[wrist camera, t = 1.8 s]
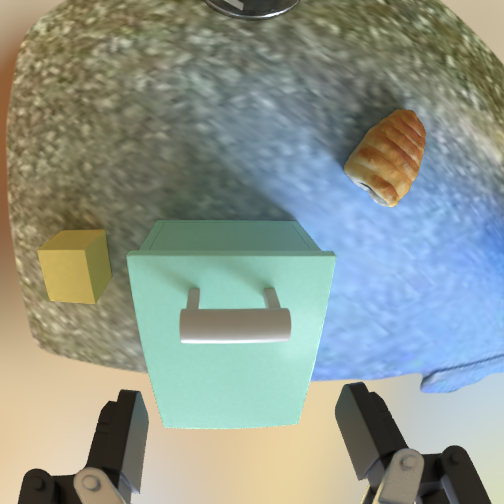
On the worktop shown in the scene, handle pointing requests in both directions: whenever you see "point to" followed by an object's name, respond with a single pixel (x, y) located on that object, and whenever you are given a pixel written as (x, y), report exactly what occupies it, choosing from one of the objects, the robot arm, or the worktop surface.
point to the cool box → (228, 236)
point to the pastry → (388, 157)
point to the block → (76, 265)
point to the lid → (230, 332)
